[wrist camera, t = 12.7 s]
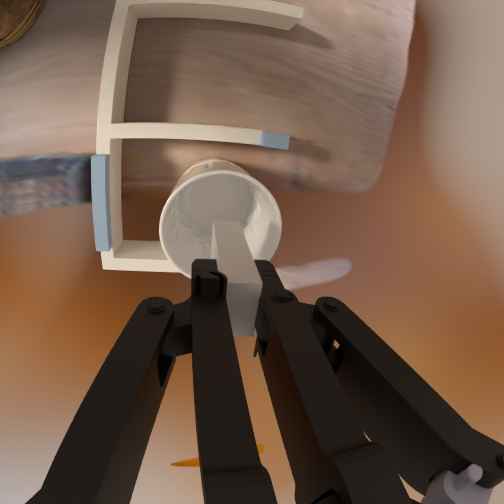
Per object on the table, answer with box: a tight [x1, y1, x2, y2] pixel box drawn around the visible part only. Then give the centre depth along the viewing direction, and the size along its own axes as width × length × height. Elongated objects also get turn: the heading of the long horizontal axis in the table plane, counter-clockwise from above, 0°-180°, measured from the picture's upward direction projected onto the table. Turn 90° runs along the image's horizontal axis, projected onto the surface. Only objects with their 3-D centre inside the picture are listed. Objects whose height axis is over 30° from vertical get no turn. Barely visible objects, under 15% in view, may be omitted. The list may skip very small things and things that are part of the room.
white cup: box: [159, 157, 282, 278], centre depth 23 cm, size 8×8×10 cm
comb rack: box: [91, 0, 304, 272], centre depth 22 cm, size 15×25×5 cm, turn 172°
